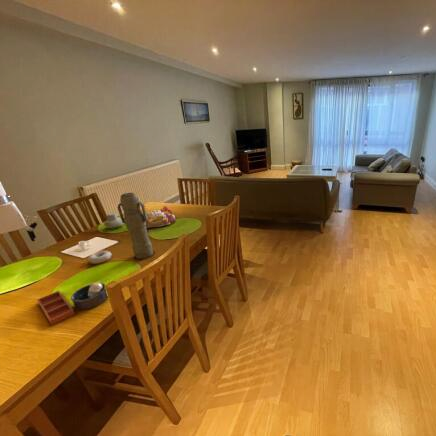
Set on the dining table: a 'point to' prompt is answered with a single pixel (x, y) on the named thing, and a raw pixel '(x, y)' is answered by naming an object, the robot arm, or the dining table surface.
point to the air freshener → (112, 221)
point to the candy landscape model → (159, 218)
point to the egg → (95, 289)
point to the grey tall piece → (136, 224)
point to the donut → (99, 257)
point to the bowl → (87, 298)
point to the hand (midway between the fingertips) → (14, 245)
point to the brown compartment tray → (55, 307)
